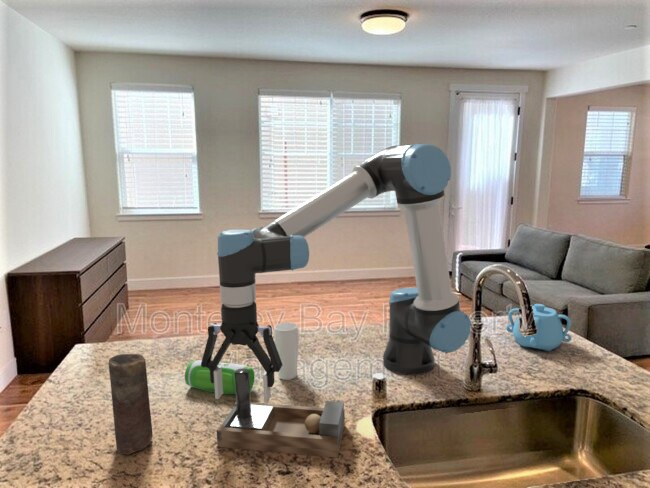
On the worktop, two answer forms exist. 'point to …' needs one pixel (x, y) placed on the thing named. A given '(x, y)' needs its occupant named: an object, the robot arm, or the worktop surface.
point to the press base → (289, 431)
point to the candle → (130, 402)
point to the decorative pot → (542, 329)
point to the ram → (249, 406)
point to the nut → (312, 423)
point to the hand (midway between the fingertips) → (243, 397)
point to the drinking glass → (287, 348)
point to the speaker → (201, 376)
